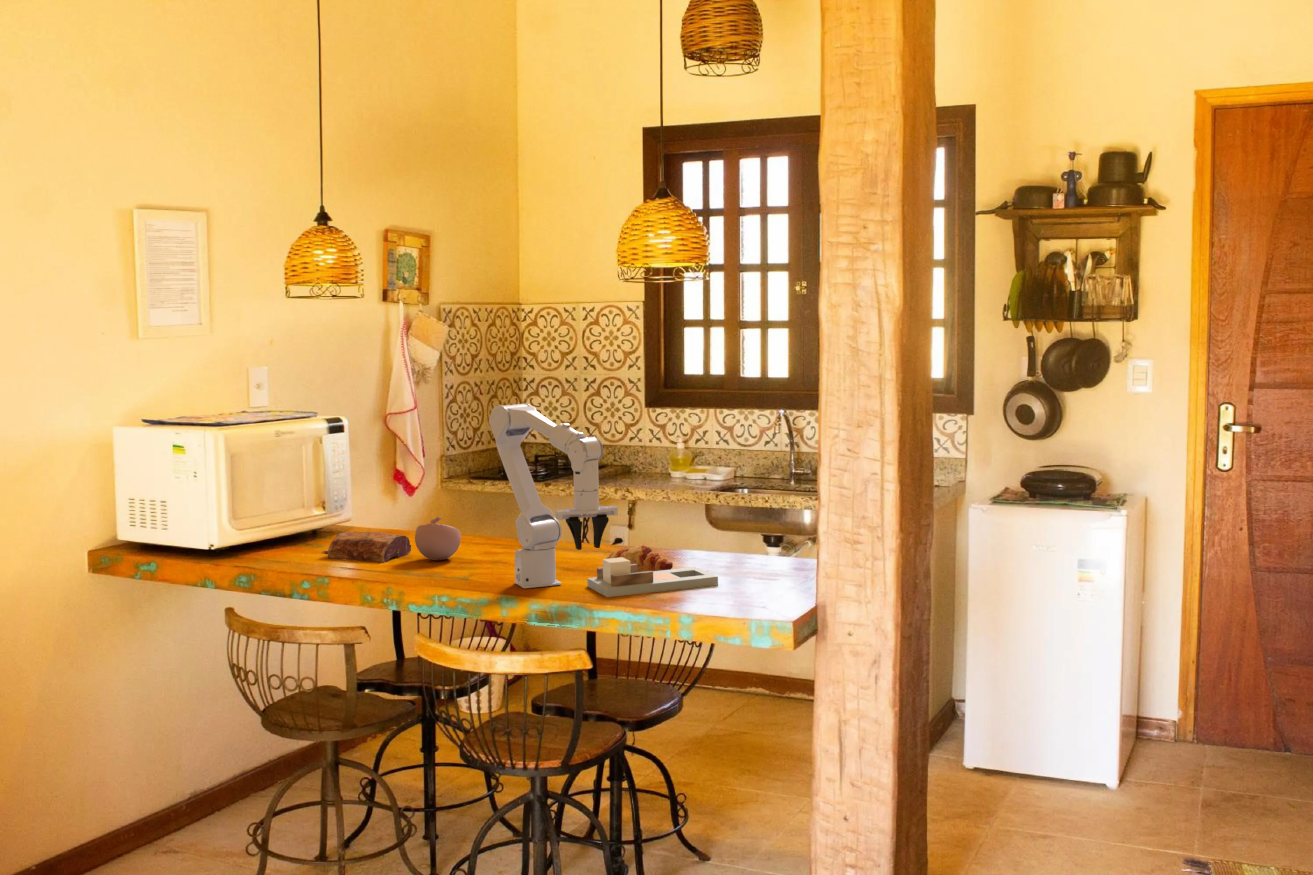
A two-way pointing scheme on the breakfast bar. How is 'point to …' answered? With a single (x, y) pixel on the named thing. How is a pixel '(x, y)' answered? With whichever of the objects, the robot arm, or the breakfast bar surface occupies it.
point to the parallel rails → (628, 577)
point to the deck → (658, 582)
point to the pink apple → (437, 540)
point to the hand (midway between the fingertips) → (587, 548)
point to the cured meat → (368, 546)
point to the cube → (615, 567)
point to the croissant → (643, 559)
